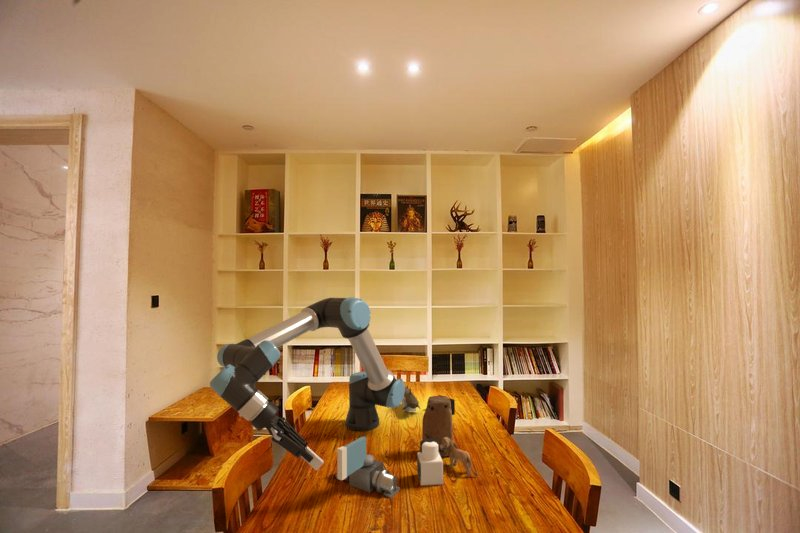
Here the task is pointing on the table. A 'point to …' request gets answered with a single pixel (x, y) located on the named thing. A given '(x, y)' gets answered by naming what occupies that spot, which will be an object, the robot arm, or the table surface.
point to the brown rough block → (438, 420)
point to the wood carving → (409, 400)
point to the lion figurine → (457, 455)
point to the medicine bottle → (429, 463)
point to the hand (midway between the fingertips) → (319, 465)
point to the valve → (374, 479)
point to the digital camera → (452, 405)
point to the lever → (352, 458)
